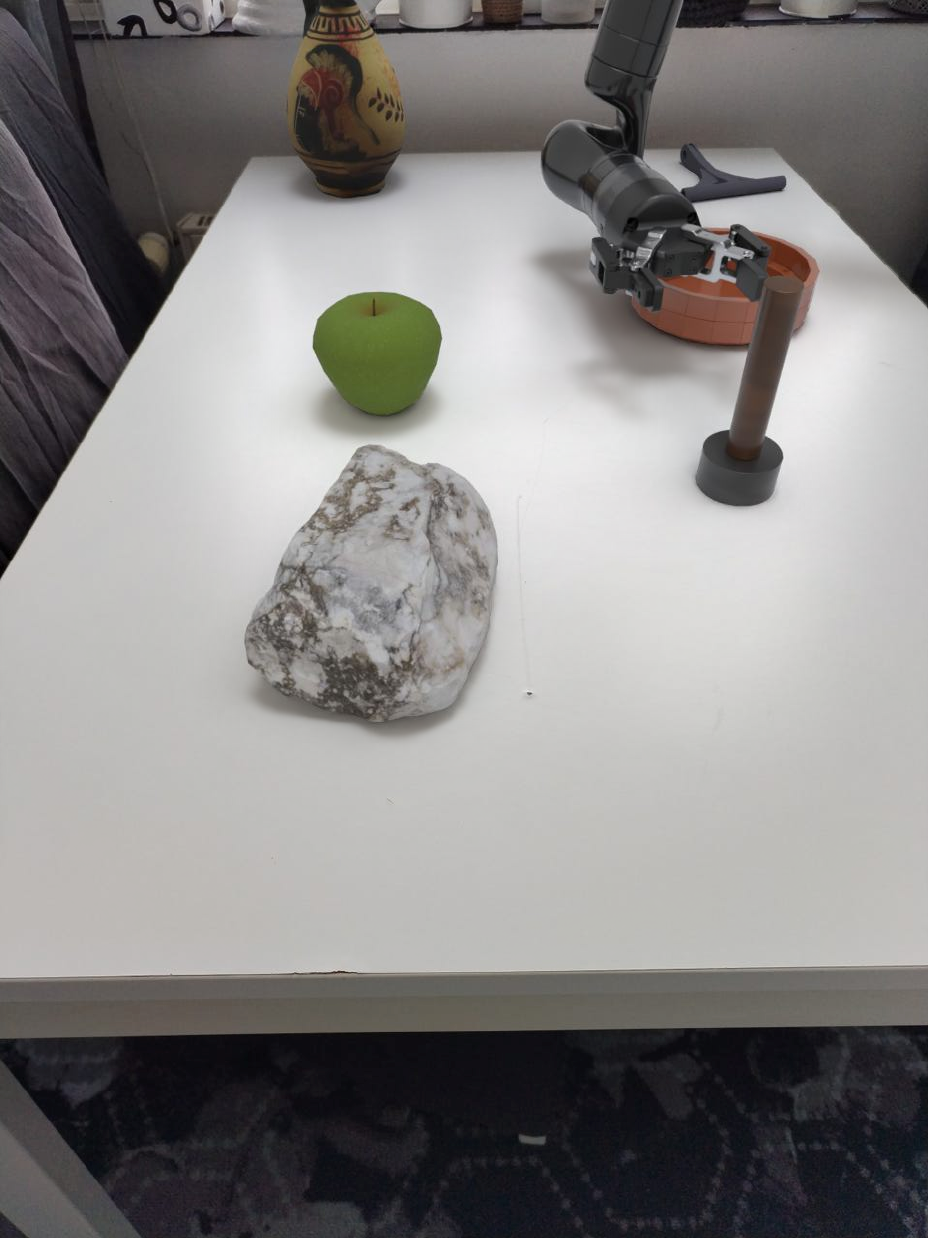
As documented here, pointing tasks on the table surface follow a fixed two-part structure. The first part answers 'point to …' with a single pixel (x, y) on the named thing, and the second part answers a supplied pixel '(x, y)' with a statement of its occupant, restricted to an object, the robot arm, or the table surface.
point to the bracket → (721, 179)
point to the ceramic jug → (344, 101)
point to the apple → (378, 349)
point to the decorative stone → (380, 592)
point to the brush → (754, 406)
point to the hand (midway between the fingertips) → (710, 295)
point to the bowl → (727, 298)
